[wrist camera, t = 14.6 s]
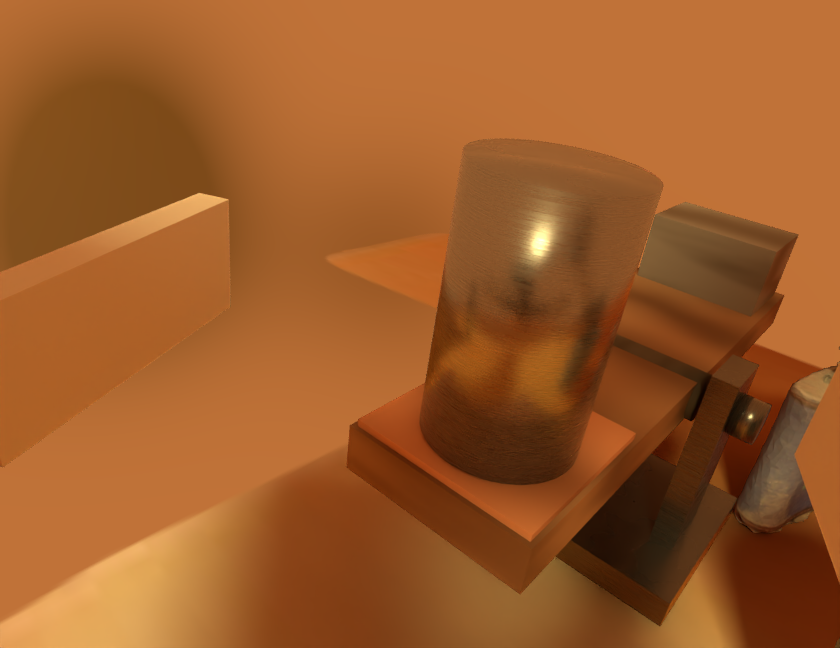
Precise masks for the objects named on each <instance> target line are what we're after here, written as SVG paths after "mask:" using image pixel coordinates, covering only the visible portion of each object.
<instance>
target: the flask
mask: <svg viewBox="0 0 840 648" xmlns="http://www.w3.org/2000/svg"><path fill="white" fill-rule="evenodd" d="M839 349H840V347H839ZM839 363H840V362H838V363H837V366H831V367H829V368H824V369H822V370H820V371H817V372H813V373H812V374H810V375H808V376H806V377H804V378H802V379H800V380H798V381H797V382H796V383H793V384H792V386H791V388H790V390H789V391H788V394H787V397H786V399H785V400H784V402H783V404H782V407H781V409H780V412H779V414H778V417H777V419H776V421H775V423H774V425H773V427H772V429H771V431H770V434H769V436H768V438H767V440H766V442H765V444H764V445H763V447H762V450H761V453H760V455H759V457H758V460H757V462H756V464H755V466H754V467H753V469H752V471H751V472H750V475H749V477H748V479H747V481H746V484H745V486H744V488H743V491H742V493H741V494H740V496H739V497H738V499H737V502H736V505H735V509H734V510H735V512H734V515H735V516H736V519H737V520H738V521H739V522H740V523H742V524H743V523H744V525H745V526H747V527H748V528H750V529H751V530H752V532H754V533H759V532H767V533H769V532H770V533H773V532H776V531H778V532H780V531H781V530H782V527H783V526H784V525H787V524H789V523H791V524H792V523H794V522H795V523H798V522H799V521H803V522H804V520H805V519H808V517H809V516H808V515H809V514H810V512H812V511H814V509H813V507H812V504H811V501H810V498H809V495H808V492H807V490H806V487H805V484H804V481H803V478H802V475H801V472H800V470H799V467H798V464H797V461H796V458H795V455H794V454H795V452H796V450H797V448H798V446H799V444H800V442H801V440H802V438H803V436H804V434H805V432H806V430H807V428H808V426H809V424H810V422H811V420H812V418H813V416H814V414H815V412H816V410H817V408H818V406H819V404H820V401H821V399H822V397H823V395H824V393H825V391H826V389H827V387H828V385H829V383H830V381H831V379H832V377H833V375H834V373H835V371H836V369H837V367H838V365H839ZM738 512H739V514H740V517H741V519H742V521H743V522H742V521H741V520H740V518H739V515H738Z"/></svg>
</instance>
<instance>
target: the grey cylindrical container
mask: <svg viewBox="0 0 840 648" xmlns="http://www.w3.org/2000/svg"><path fill="white" fill-rule="evenodd" d="M835 648H840V638H839V639H838V641H837V642H836V645H835Z"/></svg>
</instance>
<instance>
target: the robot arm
mask: <svg viewBox="0 0 840 648" xmlns="http://www.w3.org/2000/svg"><path fill="white" fill-rule="evenodd" d="M230 306H231V299H230V249H229V200H228V199H224V198H219V197H215V196H210V195H206V194H202V193H198V194H196V195H193V196H191V197H188V198H186V199H183V200H181V201H178V202H176V203H173V204H170V205H168V206H165V207H163V208H160V209H158V210H155V211H153V212H151V213H148V214H145V215H143V216H140V217H138V218H135V219H133V220H130V221H128V222H125V223H123V224H120V225H118V226H115V227H113V228H110V229H108V230H105V231H103V232H100V233H98V234H95V235H93V236H90V237H88V238H85V239H83V240H80V241H78V242H75V243H72V244H70V245H67V246H65V247H62V248H60V249H57V250H55V251H52V252H50V253H47V254H45V255H42V256H40V257H37V258H35V259H32V260H30V261H27V262H25V263H22V264H20V265H17V266H15V267H12V268H10V269H7V270H5V271H2V272H0V467H4V466H5V465H7V464H8V463H10V462H11V461H13V460H14V459H15V458H16V457H18V456H20V455H21V454H22V453H24V452H25V451H27V450H28V449H29V448H31V447H32V446H34V445H35V444H36V443H38V442H39V441H41V440H42V439H44V438H45V437H47V436H48V435H49V434H51V433H52V432H54V431H55V430H56V429H58V428H59V427H60V426H62V425H64V424H65V423H66V422H68V421H69V420H71V419H72V418H73V417H75V416H76V415H78V414H79V413H80V412H82V411H83V410H85V409H86V408H87V407H89V406H90V405H92V404H93V403H95V402H96V401H98V400H99V399H100V398H102V397H103V396H105V395H106V394H107V393H109V392H110V391H112V390H113V389H115V388H116V387H117V386H119V385H120V384H122V383H123V382H124V381H126V380H127V379H129V378H130V377H132V376H133V375H134V374H136V373H137V372H139V371H140V370H141V369H143V368H144V367H146V366H147V365H149V364H150V363H151V362H153V361H154V360H156V359H157V358H158V357H160V356H161V355H163V354H164V353H165V352H167V351H168V350H170V349H171V348H173V347H174V346H175V345H177V344H178V343H180V342H181V341H182V340H184V339H185V338H187V337H188V336H190V335H191V334H192V333H194V332H195V331H197V330H198V329H200V328H201V327H202V326H204V325H205V324H207V323H208V322H210V321H211V320H212V319H214V318H215V317H217V316H218V315H219V314H221V313H222V312H224V311H225V310H226V309H228V308H229V307H230ZM794 455H795V458H796V461H797V464H798V467H799V470H800V472H801V475H802V478H803V481H804V484H805V487H806V490H807V492H808V495H809V498H810V501H811V504H812V507H813V509H814V512H815V515H816V518H817V521H818V524H819V527H820V529H821V532H822V535H823V538H824V541H825V544H826V546H827V549H828V552H829V555H830V558H831V561H832V564H833V566H834V569H835V572H836V575H837V578H838V581H839V584H840V363H839V365H838V367H837V369H836V371H835V373H834V375H833V377H832V379H831V381H830V383H829V385H828V387H827V389H826V391H825V393H824V395H823V397H822V399H821V401H820V404H819V406H818V408H817V410H816V412H815V414H814V416H813V418H812V420H811V422H810V424H809V426H808V428H807V430H806V432H805V434H804V436H803V438H802V440H801V442H800V444H799V446H798V448H797V450H796V452H795V454H794Z"/></svg>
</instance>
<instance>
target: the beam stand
mask: <svg viewBox="0 0 840 648" xmlns="http://www.w3.org/2000/svg"><path fill="white" fill-rule="evenodd" d="M758 367H759V365H758V364H755V363H753V362H751V361H748V360H746V359H743V358H741V357H738V356H736V355H732V356H731V357H730V358H729V359H728V360H727V361H726V362H725V363H724V364H723V365H722V366H721V367H720V368H719V369H718V370H717V371H716V372H715V373H714V374H713V375H712V377H711V379H710V382H709V384H708V387H707V390H706V392H705V395H704V397H703V400H702V402H701V405H700V408H699V410H698V413H697V415H696V418H695V421H694V423H693V426H692V428H691V431H690V433H689V436H688V439H687V441H686V444H685V446H684V449H683V451H682V454H681V457H680V459H679V462H678V464H677V466H675V465H673V464H671V463H669V462H667V461H665V460H663V459H661V458H659V457H657V456H655V455H654V454H652V453H651V454H650V455H649V456H648V458H647V459H646V460H645V461H644V462H643V463H642V464H641V465H640V466H639V467H638V468H637V469H636V470H635V471H634V473H633V474H632V475H631V476H630V477H629V478H628V479H627V480H626V481H625V482H624V483H623V484H622V485H621V486H620V488H619V489H618V490H617V491H616V492H615V493H614V494H613V495H612V496H611V497H610V498H609V499H608V500H607V502H606V503H605V504H604V505H603V506H602V507H601V508H600V509H599V510H598V511H597V512H596V513H595V514H594V515H593V517H592V518H591V519H590V520H589V521H588V522H587V523H586V524H585V525H584V526H583V527H582V528H581V529H580V530H579V532H578V533H577V534H576V535H575V536H574V537H573V538H572V539H571V540H570V541H569V542H568V543H567V544H566V546H565V547H564V548H563V549H562V550H561V551H560V552H559V553H558V554H557V555H556V557H557V558H559V559H560V560H562V561H563V562H565V563H566V564H568V565H569V566H571V567H572V568H574V569H575V570H577V571H578V572H580V573H581V574H583V575H584V576H586V577H587V578H589V579H590V580H592V581H593V582H595V583H596V584H598V585H599V586H601V587H602V588H604V589H605V590H607V591H608V592H610V593H611V594H613V595H614V596H616V597H617V598H619V599H620V600H622V601H623V602H625V603H626V604H628V605H629V606H631V607H632V608H634V609H635V610H637V611H638V612H640V613H641V614H643V615H644V616H646V617H647V618H648V619H650V620H651V621H653V622H654V623H656V624H657V625H659V626H661V624H662V623H663V621H664V619H665V618H666V616H667V615H668V613H669V612H670V610H671V608H672V607H673V605H674V604H675V602H676V600H677V599H678V597H679V596H680V594H681V593H682V591H683V589H684V588H685V586H686V585H687V583H688V581H689V580H690V578H691V577H692V575H693V574H694V572H695V570H696V569H697V567H698V566H699V564H700V562H701V561H702V559H703V558H704V556H705V555H706V553H707V551H708V550H709V548H710V547H711V545H712V544H713V542H714V540H715V539H716V537H717V536H718V534H719V532H720V531H721V529H722V528H723V526H724V525H725V523H726V521H727V520H728V518H729V516H730V514H731V512H732V509H733V507H734V505H735V503H736V501H737V499H738V498H736V497H734V496H732V495H730V494H728V493H726V492H725V491H723V490H721V489H719V488H717V487H715V486H713V485H711V484H709V482H710V480H711V478H712V475H713V473H714V470H715V468H716V466H717V463H718V461H719V459H720V456H721V454H722V452H723V449H724V447H725V445H726V442H727V440H728V438H729V435H731V436H733V437H736V438H738V439H740V440H742V441H744V442H746V443H748V444H750V445H752V444H753V443H754V441H755V440H756V438H757V436H758V435H759V433H760V431H761V429H762V427H763V425H764V423H765V421H766V419H767V417H768V414H769V412H770V409H771V406H772V405H770V404H768V403H766V402H763V401H761V400H759V399H756V398H754V397H752V396H750V395H747V393H748V390H749V388H750V386H751V383H752V381H753V379H754V376H755V374H756V372H757V369H758Z"/></svg>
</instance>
